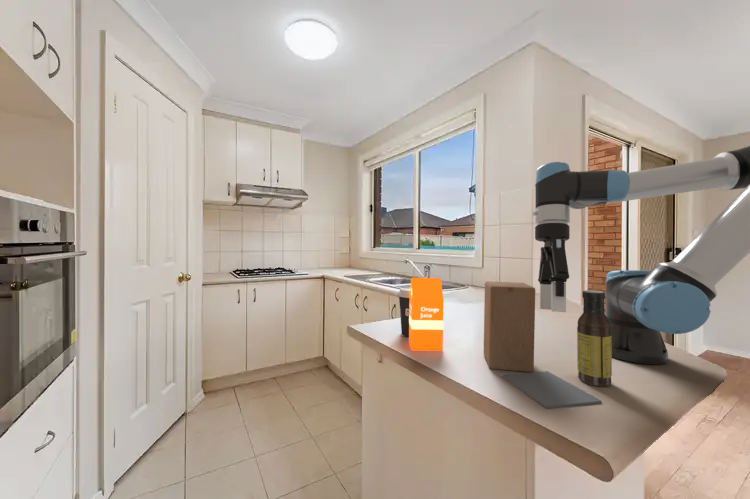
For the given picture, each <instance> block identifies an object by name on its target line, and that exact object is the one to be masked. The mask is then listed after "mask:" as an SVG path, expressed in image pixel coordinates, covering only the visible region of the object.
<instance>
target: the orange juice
mask: <svg viewBox="0 0 750 499" xmlns="http://www.w3.org/2000/svg"><path fill="white" fill-rule="evenodd" d="M409 287H410V302H409V337H408V344H409V347H410V350H411V351H415V352H417V351H419V352H420V351H421V352H432V351H433V352H443V351H444V349H443V348H444V346H443V345H444V344H443V343H444V293H443V284H442V278H441V277H411V279H410V286H409Z"/></svg>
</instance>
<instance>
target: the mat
mask: <svg viewBox="0 0 750 499" xmlns="http://www.w3.org/2000/svg"><path fill="white" fill-rule="evenodd" d="M501 377H502V378H503V379H504V380H505V381H507V382H508V383H510V384H511V385H512V386H514V387H515V388H517V389H518V390H520V391H521V392H523V393H524V394H525V395H527V396H528V397H530V398H531V399H532V400H534V401H535V402H537V403H538V404H539V405H541V406H542V407H544V408H545V409H552V408H553V409H554V408H564V407H574V406H584V405H595V404H602V403H603V401H602V400H601V399H599V398H598V397H596V396H594V395H592V394H590V393H589V392H586V391H585V390H583V389H581V388H579V387H577V386H575V385H574V384H572V383H571V382H569V381H566V380H565V379H563V378H561V377H559V376H557V375H556V374H554V373H552V372H550V371H533V372H518V373H508V374H506V373H505V374H501Z"/></svg>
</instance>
